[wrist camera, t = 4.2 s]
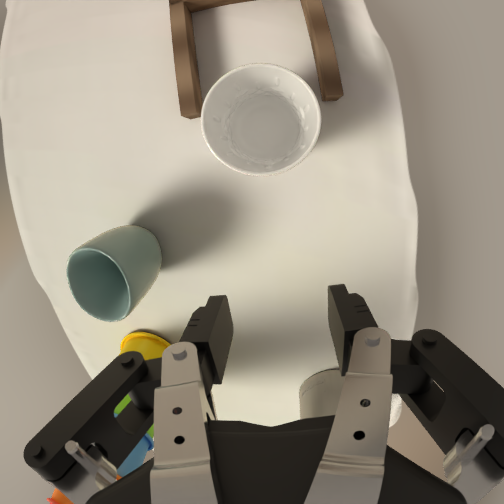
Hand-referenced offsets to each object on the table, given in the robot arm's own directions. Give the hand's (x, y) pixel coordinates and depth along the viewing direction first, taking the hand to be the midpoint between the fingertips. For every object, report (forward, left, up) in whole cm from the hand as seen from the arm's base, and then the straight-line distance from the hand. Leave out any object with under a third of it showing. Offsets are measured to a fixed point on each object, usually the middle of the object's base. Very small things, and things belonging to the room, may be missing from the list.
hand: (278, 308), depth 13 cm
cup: (+10, +13, -18) cm, 24 cm away
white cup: (+7, -6, -18) cm, 20 cm away
